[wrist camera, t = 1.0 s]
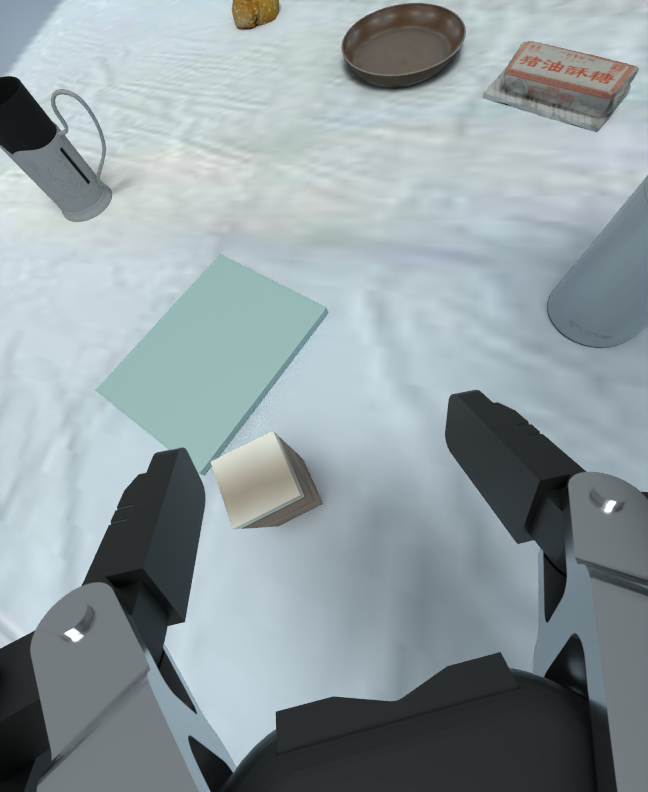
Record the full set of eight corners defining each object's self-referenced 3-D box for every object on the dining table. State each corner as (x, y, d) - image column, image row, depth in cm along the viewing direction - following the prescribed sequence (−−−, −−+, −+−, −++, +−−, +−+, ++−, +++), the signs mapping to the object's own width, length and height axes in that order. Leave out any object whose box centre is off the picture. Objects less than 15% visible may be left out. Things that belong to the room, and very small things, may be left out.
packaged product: (652, 54, 44) (619, 96, 42) (626, 97, 49) (595, 137, 47) (525, 26, 50) (490, 62, 48) (512, 67, 54) (480, 101, 52)
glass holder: (65, 191, 57) (-33, 83, 43) (143, 170, 56) (69, 55, 42) (59, 227, 53) (-49, 124, 40) (142, 206, 53) (61, 93, 39)
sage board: (223, 260, 46) (220, 253, 45) (327, 313, 41) (326, 307, 40) (102, 394, 41) (95, 390, 40) (204, 475, 36) (199, 473, 34)
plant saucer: (431, 106, 53) (435, 80, 50) (322, 85, 59) (320, 61, 56) (478, 36, 58) (484, 9, 55) (374, 23, 64) (374, -2, 61)
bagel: (223, 26, 71) (214, -7, 66) (256, 1, 73) (249, -32, 69) (257, 36, 68) (250, 2, 63) (290, 10, 70) (285, -25, 66)
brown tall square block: (260, 480, 35) (210, 461, 24) (302, 459, 35) (273, 430, 24) (278, 526, 33) (232, 529, 22) (322, 503, 33) (300, 495, 22)
